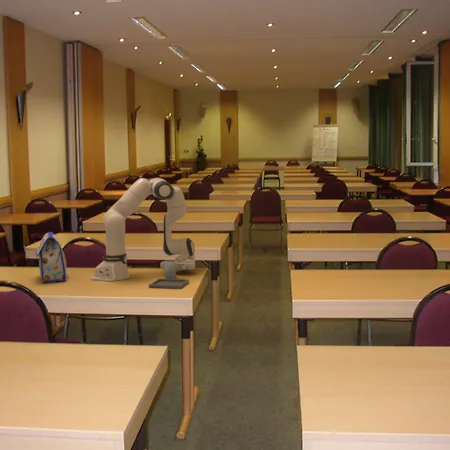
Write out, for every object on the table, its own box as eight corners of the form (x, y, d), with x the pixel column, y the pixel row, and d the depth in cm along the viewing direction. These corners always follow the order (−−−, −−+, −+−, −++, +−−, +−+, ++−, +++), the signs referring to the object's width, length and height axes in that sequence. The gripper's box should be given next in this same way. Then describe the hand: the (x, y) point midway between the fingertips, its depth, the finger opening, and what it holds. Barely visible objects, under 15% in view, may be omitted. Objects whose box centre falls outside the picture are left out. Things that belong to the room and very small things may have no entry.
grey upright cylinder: (163, 280, 363) (162, 263, 361) (167, 278, 368) (166, 261, 367) (173, 280, 361) (172, 263, 360) (177, 278, 367) (176, 261, 365)
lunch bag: (37, 276, 386) (34, 232, 382) (66, 273, 390) (62, 230, 386) (38, 284, 364) (34, 238, 360) (68, 281, 369) (64, 235, 365)
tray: (149, 287, 347) (148, 284, 347) (158, 281, 360) (158, 278, 360) (180, 288, 342) (180, 285, 342) (188, 282, 356) (188, 279, 355)
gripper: (164, 257, 385) (156, 262, 372) (197, 258, 379) (189, 263, 366) (165, 267, 386) (156, 272, 373) (197, 268, 380) (190, 273, 367)
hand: (173, 268), depth 369 cm, fingers open, 8 cm apart
